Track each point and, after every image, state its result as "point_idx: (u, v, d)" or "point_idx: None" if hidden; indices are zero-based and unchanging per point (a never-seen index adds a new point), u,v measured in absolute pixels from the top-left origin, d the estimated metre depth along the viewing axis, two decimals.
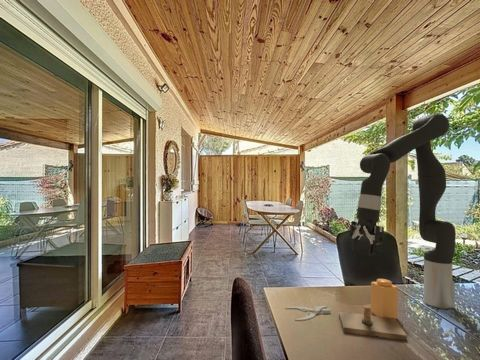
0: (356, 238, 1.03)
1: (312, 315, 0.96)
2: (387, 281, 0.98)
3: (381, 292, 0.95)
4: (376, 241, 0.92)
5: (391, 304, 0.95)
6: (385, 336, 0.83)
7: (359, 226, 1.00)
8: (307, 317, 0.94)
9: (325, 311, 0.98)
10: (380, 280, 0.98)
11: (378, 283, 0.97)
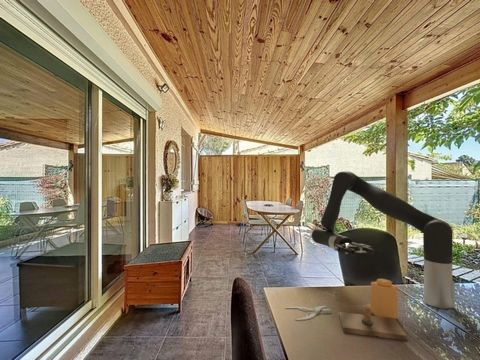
0: (365, 250, 1.14)
1: (312, 315, 0.96)
2: (387, 281, 0.98)
3: (381, 292, 0.95)
4: (341, 252, 1.12)
5: (391, 304, 0.95)
6: (385, 336, 0.83)
7: None
8: (307, 317, 0.94)
9: (325, 311, 0.98)
10: (380, 280, 0.98)
11: (378, 283, 0.97)
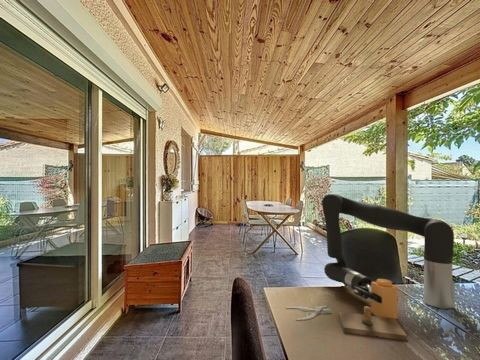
0: None
1: (313, 315, 0.96)
2: (387, 281, 0.98)
3: (381, 292, 0.95)
4: None
5: (391, 304, 0.95)
6: (385, 336, 0.83)
7: None
8: (308, 317, 0.94)
9: (326, 311, 0.98)
10: (380, 280, 0.98)
11: (378, 283, 0.97)
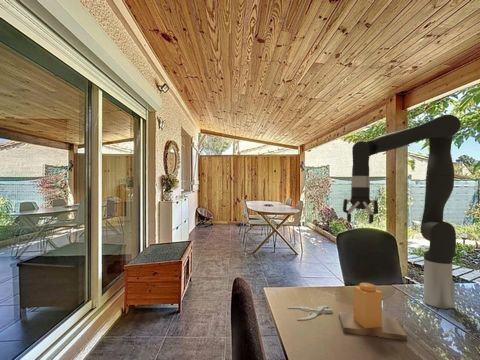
0: (369, 213, 1.20)
1: (314, 315, 0.96)
2: (371, 285, 0.89)
3: (364, 298, 0.86)
4: None
5: (375, 311, 0.86)
6: (385, 336, 0.83)
7: None
8: (309, 317, 0.94)
9: (327, 311, 0.98)
10: (363, 284, 0.90)
11: (361, 288, 0.88)
